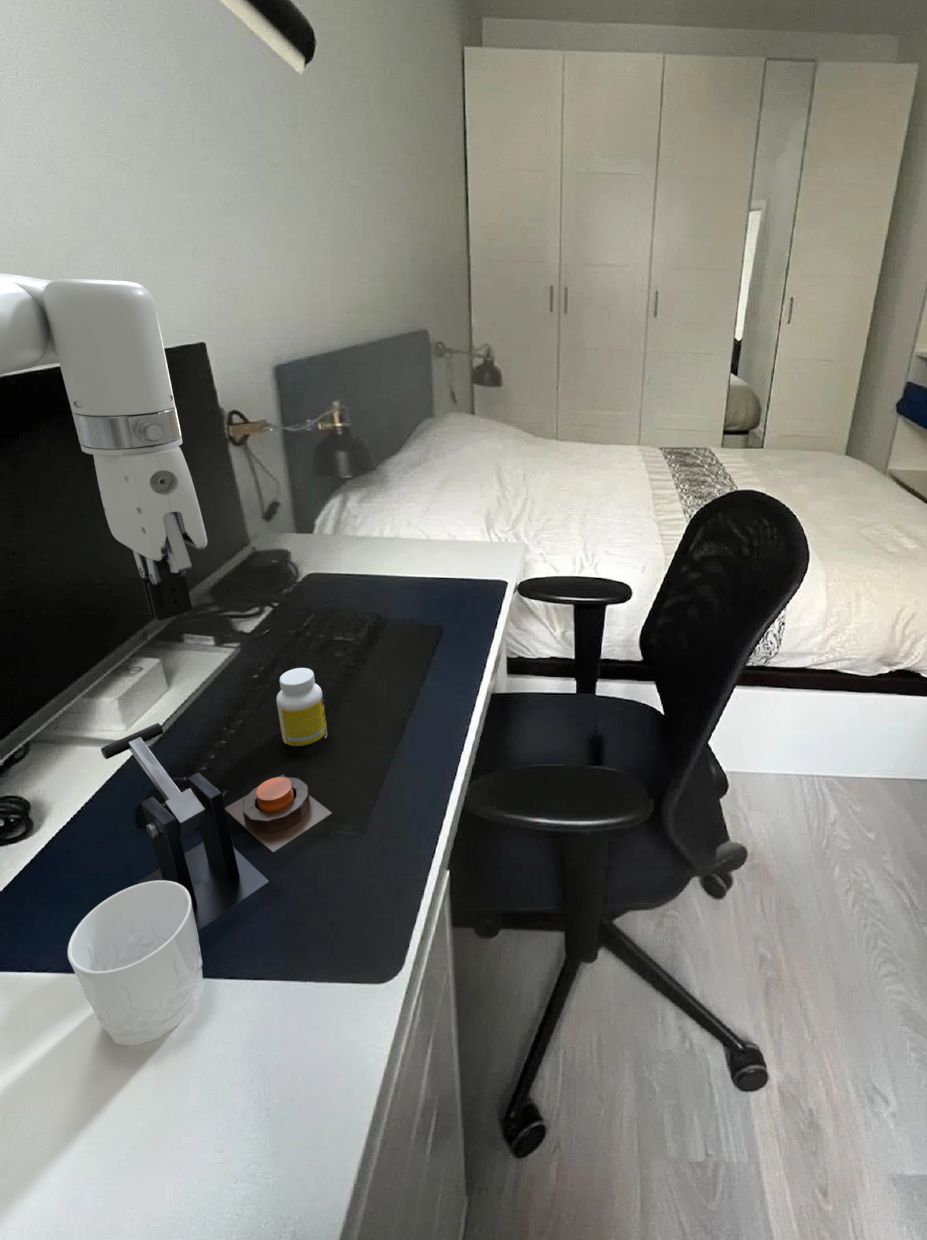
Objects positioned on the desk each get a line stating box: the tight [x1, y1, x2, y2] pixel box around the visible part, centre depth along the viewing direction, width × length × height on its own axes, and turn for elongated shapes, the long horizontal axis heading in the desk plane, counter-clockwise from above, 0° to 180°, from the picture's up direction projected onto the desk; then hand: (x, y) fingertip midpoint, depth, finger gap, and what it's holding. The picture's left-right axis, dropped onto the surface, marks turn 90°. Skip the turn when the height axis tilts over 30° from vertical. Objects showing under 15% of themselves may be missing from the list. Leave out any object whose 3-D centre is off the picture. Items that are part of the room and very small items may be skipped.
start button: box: [256, 776, 294, 813], centre depth 71 cm, size 4×4×2 cm
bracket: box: [135, 772, 271, 933], centre depth 62 cm, size 10×8×12 cm
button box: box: [224, 774, 333, 854], centre depth 72 cm, size 10×7×3 cm
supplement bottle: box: [275, 667, 328, 747], centre depth 83 cm, size 5×5×10 cm
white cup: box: [67, 880, 205, 1047], centre depth 52 cm, size 8×8×10 cm
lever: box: [100, 722, 205, 838], centre depth 62 cm, size 12×5×2 cm, turn 54°
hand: (171, 613), depth 64 cm, fingers closed
